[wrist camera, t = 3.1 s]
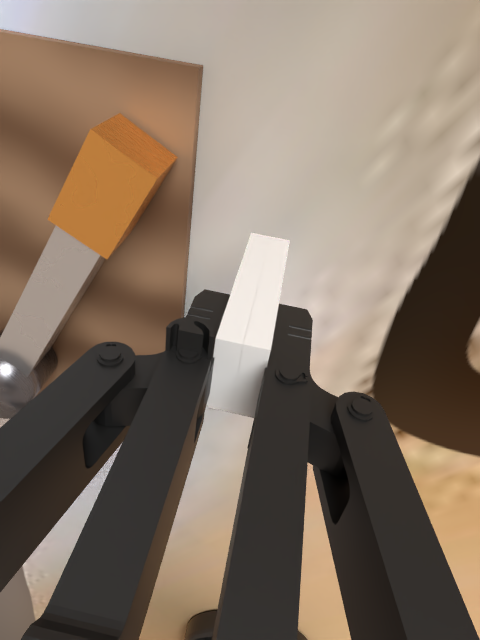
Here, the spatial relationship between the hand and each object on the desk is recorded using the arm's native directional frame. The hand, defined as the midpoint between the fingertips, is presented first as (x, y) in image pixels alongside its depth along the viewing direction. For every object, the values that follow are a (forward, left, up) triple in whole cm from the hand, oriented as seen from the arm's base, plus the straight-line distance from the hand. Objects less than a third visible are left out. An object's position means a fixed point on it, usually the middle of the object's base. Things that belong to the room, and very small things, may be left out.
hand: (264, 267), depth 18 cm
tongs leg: (-6, +11, -6) cm, 14 cm away
